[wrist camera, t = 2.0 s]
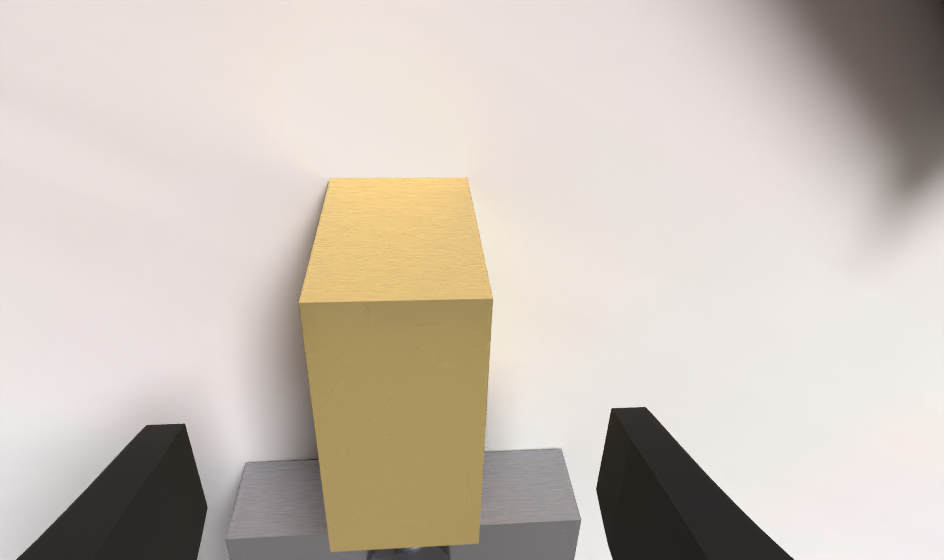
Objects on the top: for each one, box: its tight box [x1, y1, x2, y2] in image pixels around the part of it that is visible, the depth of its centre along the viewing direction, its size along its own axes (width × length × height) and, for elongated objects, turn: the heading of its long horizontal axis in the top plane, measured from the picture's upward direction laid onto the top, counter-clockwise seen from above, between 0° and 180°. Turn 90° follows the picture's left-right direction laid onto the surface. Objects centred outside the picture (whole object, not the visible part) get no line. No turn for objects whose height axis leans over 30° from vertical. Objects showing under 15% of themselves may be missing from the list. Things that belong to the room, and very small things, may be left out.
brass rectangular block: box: [299, 178, 493, 552], centre depth 14 cm, size 6×3×5 cm, turn 178°
